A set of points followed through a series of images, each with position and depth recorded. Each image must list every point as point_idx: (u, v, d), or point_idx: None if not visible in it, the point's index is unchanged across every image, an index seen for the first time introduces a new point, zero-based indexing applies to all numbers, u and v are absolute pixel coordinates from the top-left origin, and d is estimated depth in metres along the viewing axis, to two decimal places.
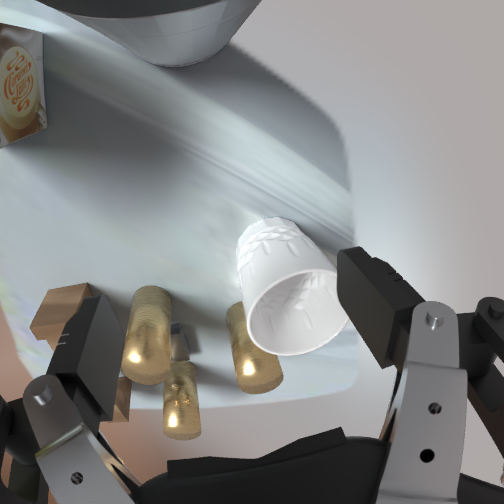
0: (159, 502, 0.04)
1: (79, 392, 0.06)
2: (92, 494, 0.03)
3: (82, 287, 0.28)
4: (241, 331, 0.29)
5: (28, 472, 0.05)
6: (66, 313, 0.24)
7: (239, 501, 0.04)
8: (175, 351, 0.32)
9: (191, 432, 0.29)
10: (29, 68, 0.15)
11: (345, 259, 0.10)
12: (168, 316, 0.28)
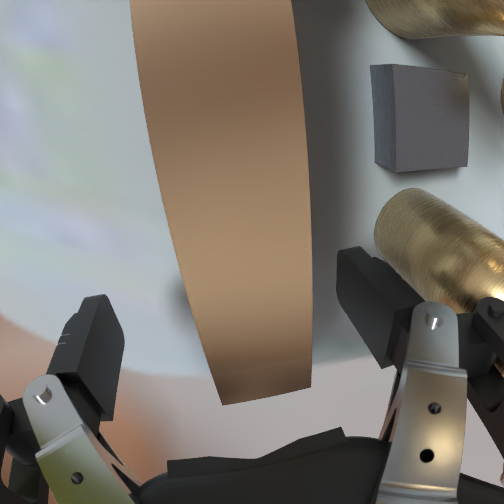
0: (159, 502, 0.04)
1: (79, 392, 0.06)
2: (92, 494, 0.03)
3: None
4: None
5: (29, 471, 0.05)
6: None
7: (239, 501, 0.04)
8: (450, 128, 0.10)
9: None
10: None
11: (345, 258, 0.10)
12: None
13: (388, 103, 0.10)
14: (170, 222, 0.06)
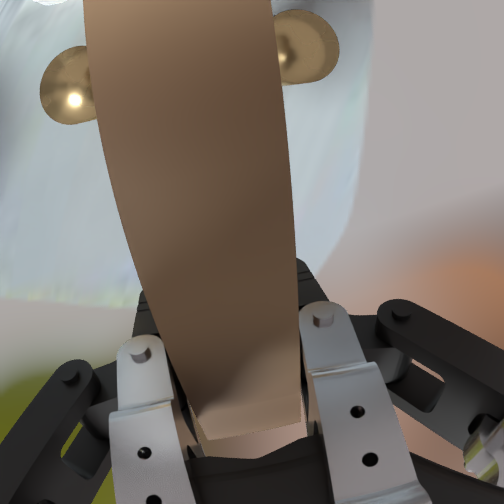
0: None
1: None
2: (153, 474, 0.04)
3: None
4: None
5: (96, 445, 0.06)
6: None
7: (239, 501, 0.04)
8: None
9: (305, 28, 0.12)
10: None
11: None
12: None
13: None
14: (137, 264, 0.05)
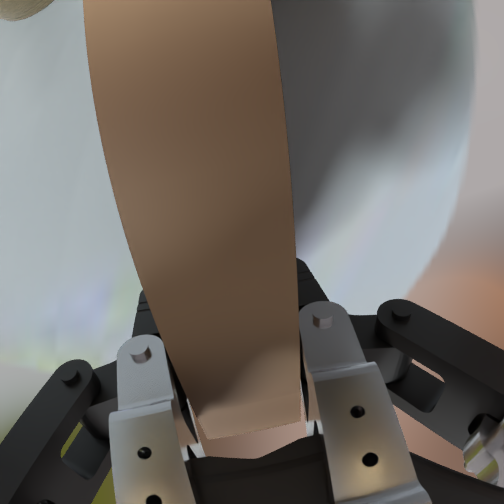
0: None
1: None
2: (153, 474, 0.04)
3: None
4: None
5: (96, 445, 0.06)
6: None
7: (239, 501, 0.04)
8: None
9: None
10: None
11: None
12: None
13: None
14: (137, 263, 0.05)
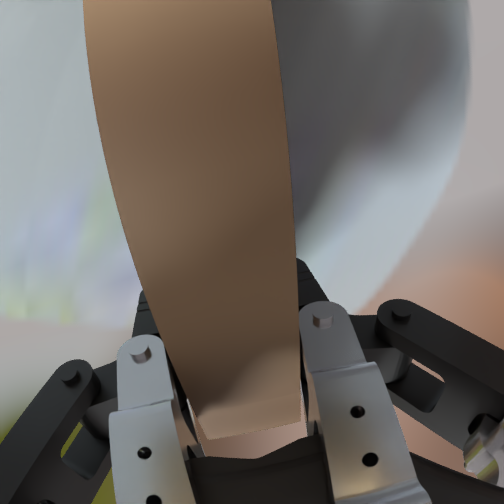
0: None
1: None
2: (154, 474, 0.04)
3: None
4: None
5: (96, 445, 0.06)
6: None
7: (239, 501, 0.04)
8: None
9: None
10: None
11: None
12: None
13: None
14: (137, 264, 0.05)
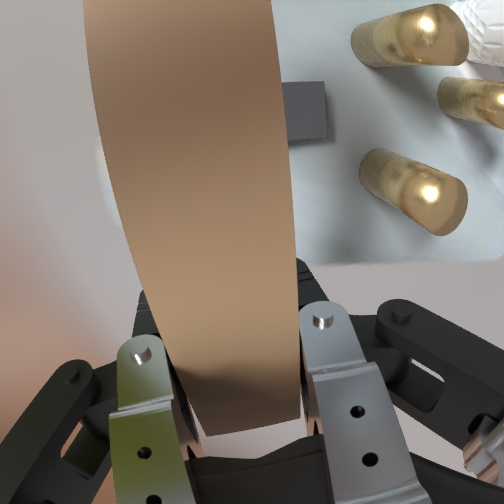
0: None
1: None
2: (153, 474, 0.04)
3: None
4: (478, 80, 0.18)
5: (96, 445, 0.06)
6: None
7: (239, 501, 0.04)
8: (310, 114, 0.20)
9: (456, 210, 0.17)
10: None
11: None
12: None
13: None
14: (134, 255, 0.05)
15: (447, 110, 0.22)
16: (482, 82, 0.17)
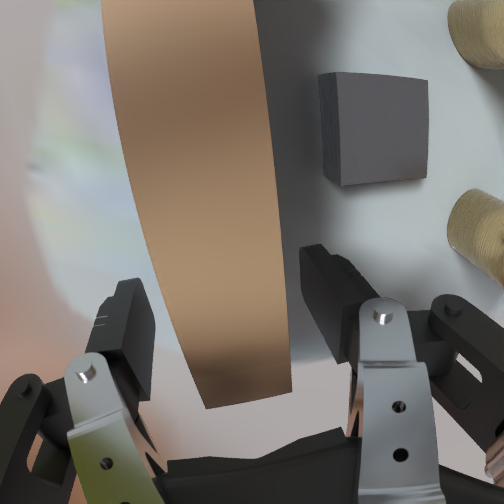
0: None
1: (122, 370, 0.07)
2: (119, 482, 0.03)
3: None
4: None
5: (57, 456, 0.06)
6: None
7: (239, 501, 0.04)
8: (405, 137, 0.11)
9: None
10: None
11: (304, 255, 0.10)
12: None
13: (333, 113, 0.10)
14: (146, 235, 0.06)
15: None
16: None
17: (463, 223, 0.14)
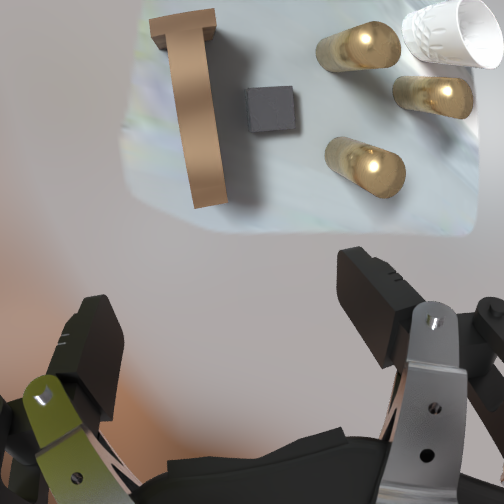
0: (159, 502, 0.04)
1: (79, 392, 0.06)
2: (92, 494, 0.03)
3: None
4: (423, 77, 0.25)
5: (29, 471, 0.05)
6: None
7: (239, 501, 0.04)
8: (281, 111, 0.27)
9: (395, 178, 0.24)
10: None
11: (345, 258, 0.10)
12: None
13: (248, 104, 0.27)
14: (181, 136, 0.23)
15: (401, 104, 0.29)
16: (426, 78, 0.24)
17: (329, 152, 0.30)
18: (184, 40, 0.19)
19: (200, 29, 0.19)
